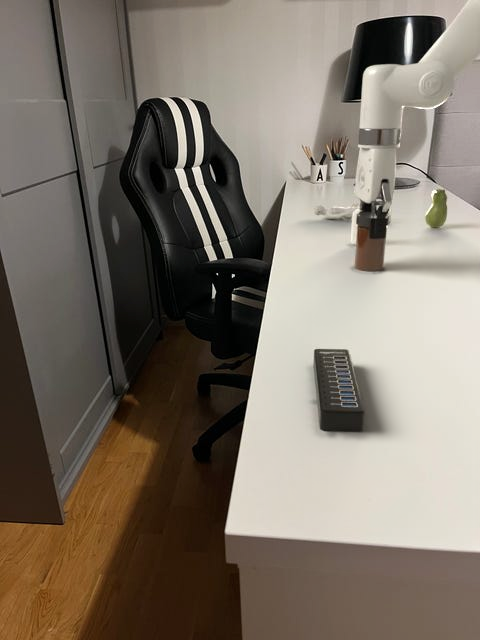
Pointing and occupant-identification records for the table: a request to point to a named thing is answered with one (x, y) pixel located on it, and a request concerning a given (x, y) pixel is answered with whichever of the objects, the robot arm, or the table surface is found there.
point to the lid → (365, 219)
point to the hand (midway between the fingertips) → (371, 233)
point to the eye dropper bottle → (354, 227)
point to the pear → (437, 209)
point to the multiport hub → (337, 391)
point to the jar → (368, 251)
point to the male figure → (339, 212)
